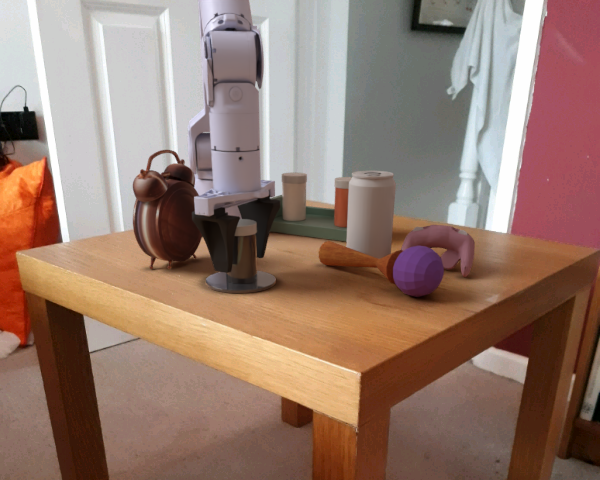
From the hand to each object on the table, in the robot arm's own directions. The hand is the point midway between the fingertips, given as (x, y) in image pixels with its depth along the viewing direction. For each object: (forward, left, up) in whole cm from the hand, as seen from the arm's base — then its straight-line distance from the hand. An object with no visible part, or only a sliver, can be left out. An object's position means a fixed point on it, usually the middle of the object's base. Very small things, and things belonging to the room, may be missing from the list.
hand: (240, 263), depth 80 cm
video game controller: (+20, +18, -3) cm, 27 cm away
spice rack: (-4, +31, -2) cm, 31 cm away
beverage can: (+10, +18, -3) cm, 21 cm away
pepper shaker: (0, 0, -2) cm, 2 cm away
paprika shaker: (+1, +30, -1) cm, 30 cm away
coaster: (0, 0, -2) cm, 2 cm away
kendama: (+15, +9, -3) cm, 18 cm away
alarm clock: (-13, +2, -3) cm, 13 cm away
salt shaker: (-9, +30, -1) cm, 31 cm away
